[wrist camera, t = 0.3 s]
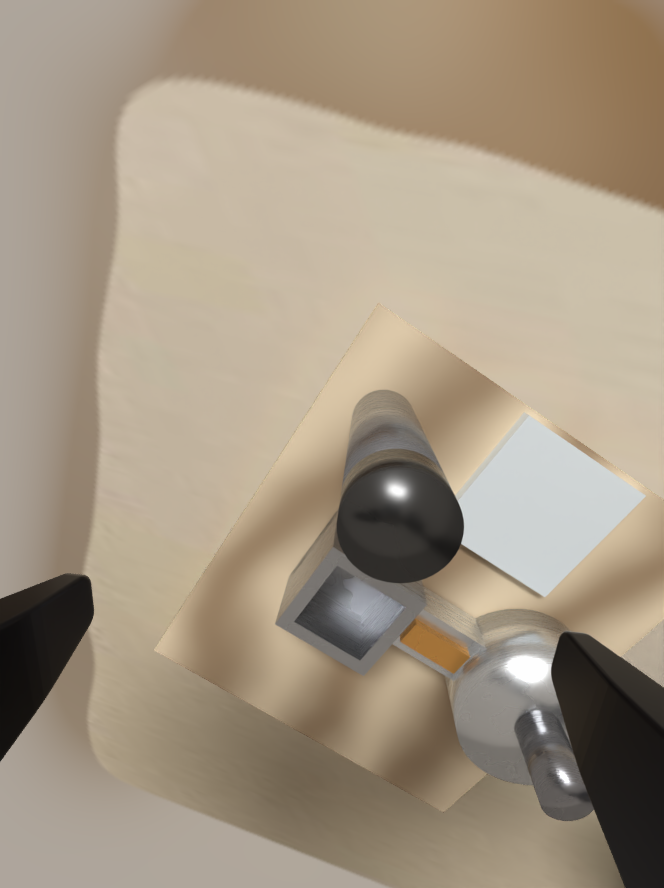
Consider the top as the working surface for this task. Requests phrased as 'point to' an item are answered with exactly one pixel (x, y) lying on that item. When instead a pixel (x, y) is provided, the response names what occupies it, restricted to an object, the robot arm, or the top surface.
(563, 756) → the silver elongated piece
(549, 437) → the coaster
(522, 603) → the board
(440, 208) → the top surface
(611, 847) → the robot arm
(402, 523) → the metal cylinder
